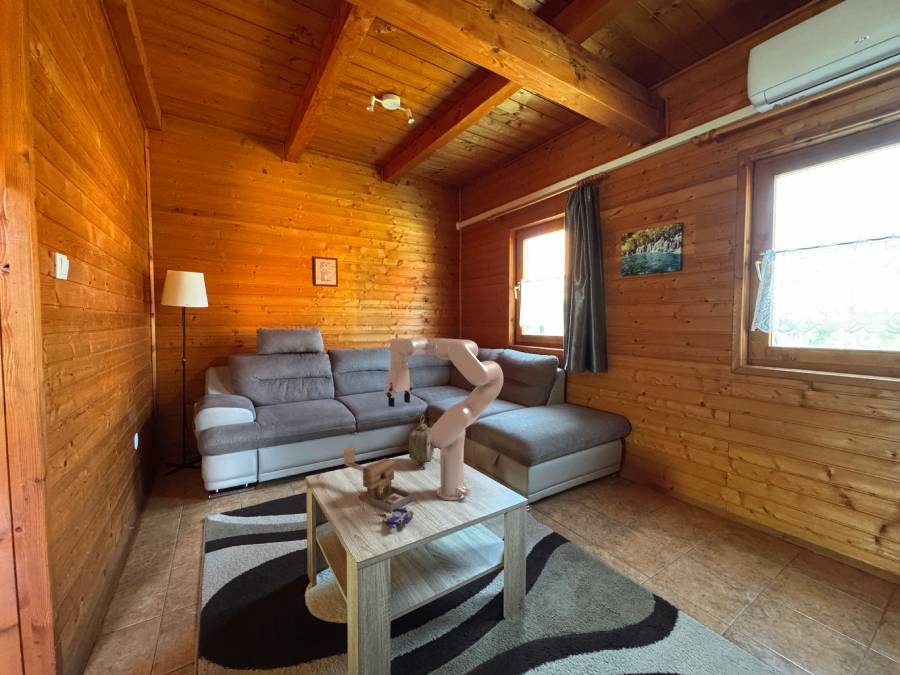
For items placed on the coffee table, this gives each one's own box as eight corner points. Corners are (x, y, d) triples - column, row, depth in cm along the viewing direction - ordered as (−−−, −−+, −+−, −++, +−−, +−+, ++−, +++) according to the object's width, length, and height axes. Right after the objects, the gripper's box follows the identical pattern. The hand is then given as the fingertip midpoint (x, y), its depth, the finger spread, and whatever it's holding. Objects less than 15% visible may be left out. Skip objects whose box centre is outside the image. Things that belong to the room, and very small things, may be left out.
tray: (413, 500, 144) (413, 494, 144) (390, 513, 135) (390, 506, 135) (392, 492, 152) (392, 486, 151) (369, 503, 142) (369, 497, 142)
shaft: (383, 476, 148) (383, 458, 148) (377, 479, 145) (377, 461, 145) (350, 464, 161) (350, 447, 161) (343, 466, 158) (343, 449, 158)
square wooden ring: (394, 496, 146) (405, 501, 143) (383, 502, 142) (393, 507, 138) (394, 493, 146) (405, 497, 143) (383, 499, 142) (393, 503, 138)
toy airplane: (368, 521, 130) (368, 511, 130) (404, 510, 137) (404, 501, 137) (381, 539, 119) (381, 529, 119) (419, 527, 126) (419, 517, 126)
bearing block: (394, 492, 151) (393, 460, 150) (371, 504, 141) (371, 470, 141) (380, 487, 156) (379, 456, 155) (357, 498, 146) (357, 465, 146)
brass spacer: (391, 495, 148) (391, 480, 147) (380, 500, 143) (380, 486, 143) (389, 494, 149) (389, 479, 148) (377, 499, 144) (377, 484, 143)
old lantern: (426, 471, 172) (426, 419, 171) (408, 469, 174) (408, 418, 173) (434, 460, 186) (434, 411, 185) (417, 458, 188) (416, 410, 187)
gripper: (406, 363, 169) (406, 399, 170) (378, 367, 156) (378, 407, 156) (418, 364, 165) (418, 402, 166) (390, 368, 151) (391, 409, 152)
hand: (399, 404), depth 161 cm, fingers open, 9 cm apart
